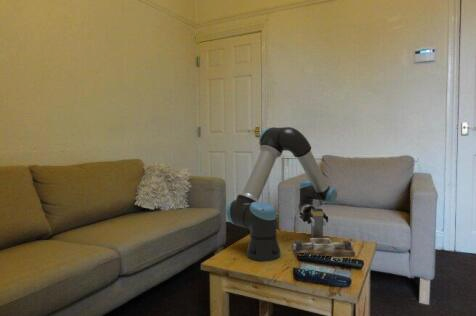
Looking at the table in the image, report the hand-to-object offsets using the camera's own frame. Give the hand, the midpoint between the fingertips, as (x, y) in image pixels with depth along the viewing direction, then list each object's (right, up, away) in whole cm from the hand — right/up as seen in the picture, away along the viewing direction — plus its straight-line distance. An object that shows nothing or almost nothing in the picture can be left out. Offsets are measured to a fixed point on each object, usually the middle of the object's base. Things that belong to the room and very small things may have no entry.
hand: (319, 223), depth 160 cm
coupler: (0, -7, +6) cm, 9 cm away
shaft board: (0, -12, -5) cm, 13 cm away
